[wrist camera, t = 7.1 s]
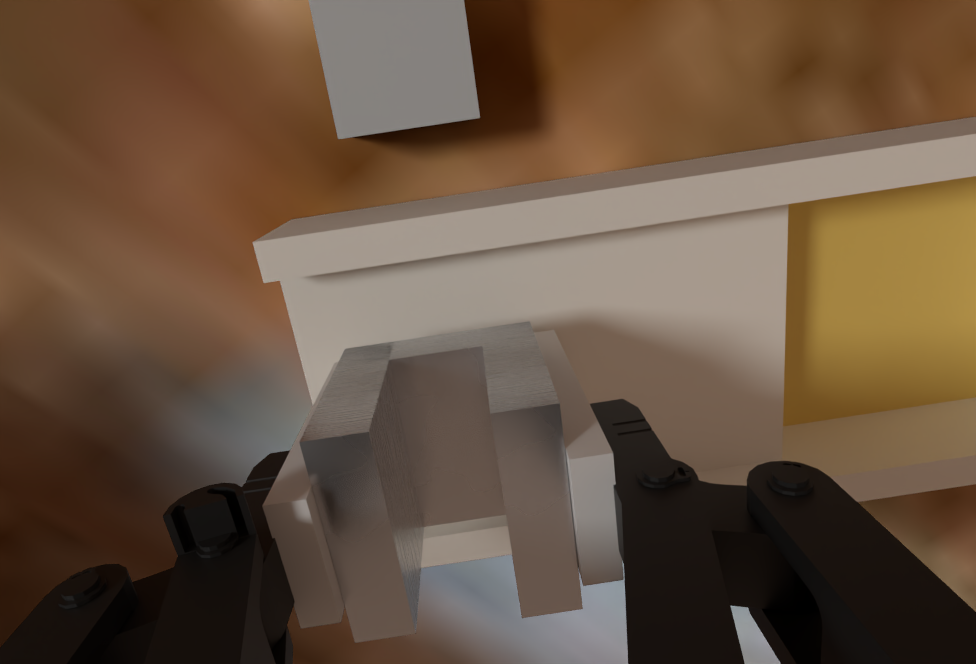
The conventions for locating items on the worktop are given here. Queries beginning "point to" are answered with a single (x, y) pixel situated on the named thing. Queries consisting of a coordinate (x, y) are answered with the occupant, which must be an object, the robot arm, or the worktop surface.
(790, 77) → the worktop surface
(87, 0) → the worktop surface
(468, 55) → the grey tall rectangular block
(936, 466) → the box with sliding lid
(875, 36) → the worktop surface
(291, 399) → the worktop surface
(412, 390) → the clip
